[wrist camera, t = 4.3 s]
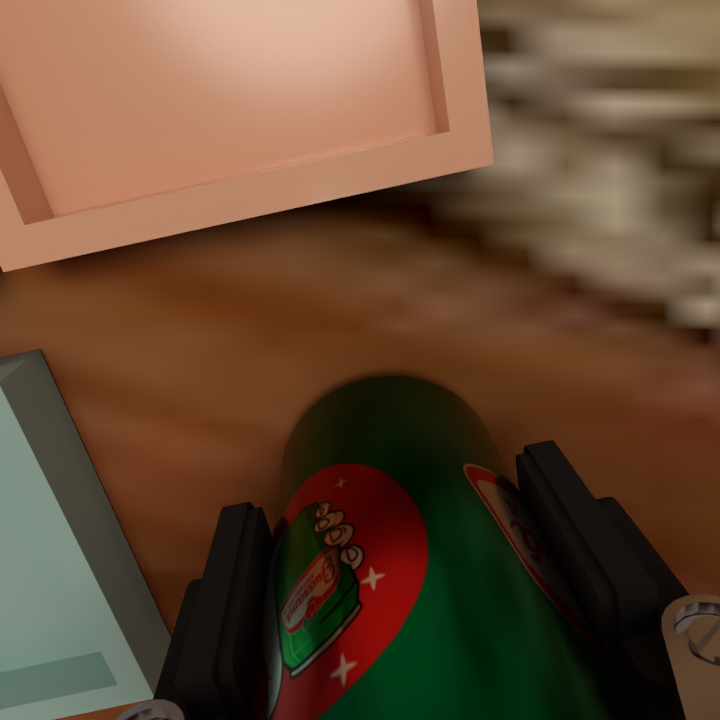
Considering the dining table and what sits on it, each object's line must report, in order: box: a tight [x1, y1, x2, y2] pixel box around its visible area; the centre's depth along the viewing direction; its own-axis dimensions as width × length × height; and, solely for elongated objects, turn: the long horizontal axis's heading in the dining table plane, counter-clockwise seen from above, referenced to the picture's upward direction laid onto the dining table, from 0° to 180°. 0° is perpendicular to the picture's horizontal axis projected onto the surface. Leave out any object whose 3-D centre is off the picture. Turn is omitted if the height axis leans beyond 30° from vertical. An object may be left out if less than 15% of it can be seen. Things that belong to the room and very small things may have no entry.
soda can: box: [248, 376, 638, 720], centre depth 9 cm, size 5×5×12 cm
